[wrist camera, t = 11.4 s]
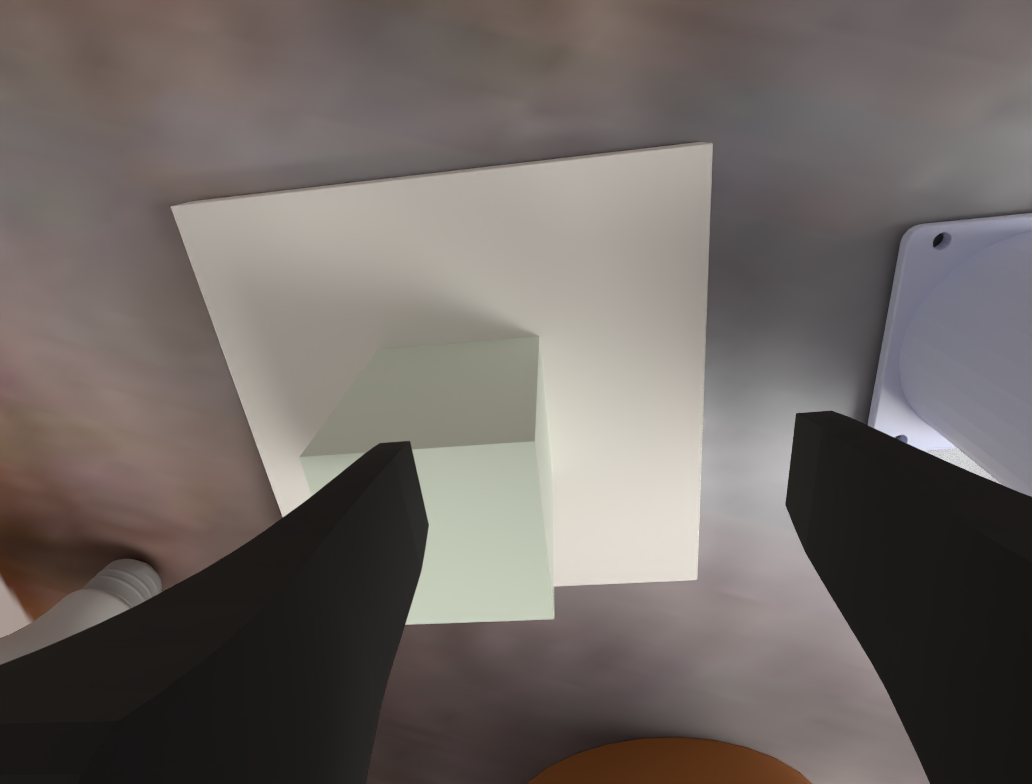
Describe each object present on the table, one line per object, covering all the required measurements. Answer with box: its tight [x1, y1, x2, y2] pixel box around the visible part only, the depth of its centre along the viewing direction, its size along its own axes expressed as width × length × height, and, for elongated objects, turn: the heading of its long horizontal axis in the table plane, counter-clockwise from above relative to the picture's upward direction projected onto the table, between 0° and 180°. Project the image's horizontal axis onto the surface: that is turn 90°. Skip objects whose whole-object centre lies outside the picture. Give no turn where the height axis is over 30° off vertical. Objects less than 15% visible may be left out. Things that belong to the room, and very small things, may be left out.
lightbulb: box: [0, 559, 162, 665], centre depth 20 cm, size 6×6×11 cm
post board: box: [170, 142, 713, 586], centre depth 18 cm, size 16×16×6 cm
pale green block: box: [299, 336, 554, 625], centre depth 17 cm, size 5×5×7 cm
